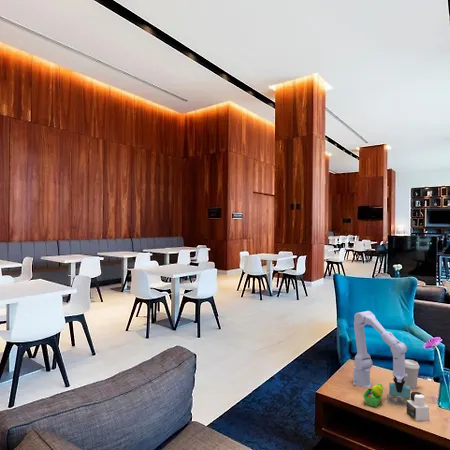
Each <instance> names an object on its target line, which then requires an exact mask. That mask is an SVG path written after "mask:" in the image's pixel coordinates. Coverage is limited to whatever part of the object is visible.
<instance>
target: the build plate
mask: <svg viewBox="0 0 450 450" xmlns="http://www.w3.org/2000/svg"><path fill="white" fill-rule="evenodd" d="M410 400H411V398H410ZM386 403H387V404H391V405H395V406H402V407H405V408H407V404H404V403H401V397H399V396H397V402H394V401H389V393H388V394H387V395H386Z"/></svg>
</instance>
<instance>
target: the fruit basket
mask: <svg viewBox="0 0 450 450" xmlns="http://www.w3.org/2000/svg"><path fill="white" fill-rule="evenodd" d="M383 391H384V386H383V385H382V383H377V384H376V385H373V386H372V387H370V388H368V387H367V390H366V391H365V392H364V394H363V399H364V403H365V405H367V406H371V407H373V408H377V407H378V406H379V404H380V402H381V399H382V397H383V394H384V392H383Z"/></svg>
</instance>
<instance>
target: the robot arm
mask: <svg viewBox="0 0 450 450" xmlns="http://www.w3.org/2000/svg"><path fill="white" fill-rule="evenodd" d="M353 316H354V321H353V328H354V335H355V336H354V337H355V344H356V352H357V353H356V354H355V356H354V363H353V364H354V367H353V372H352V376H353V378H352V380H353V381H352V383H353V386H359V387H364V388H367V389H368V388H370V389H371V385H372V382H371V370H372V369H371V368H372V367H373V360H372V359H371V355H370V354H369V353H368V351H367V349H368V348H367V342H366V334H365V326H366V325H369V326H371V327H372V328H374V329H375V330H376V331H377V333H379V334H380V335H381V339H382V340H383V341H384V342H385V343H386V344H387V346H388V347H390V352H391V353H392V354H391V355H392V376H393V379H392V380H393V383H395V385H396V390H397V392H399V393H401V392H402V388H403V385H404V383H405V380H404V378H405V376H406V377H407V374H405V360H406V354H405V353H407V351H408V347H407V345H406V343H404V342H403V341H400V340H399V339H397V338H396V336H394V334H393V332H391V331H387V330H386V329H385V328H384V326H382V324H381V322H380V321H378V319H377V318H376V315H375V314H374V313H373V312H372V311H370V310H366V311H361V312H356V313H355V314H354V315H353Z"/></svg>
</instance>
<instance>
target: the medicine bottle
mask: <svg viewBox="0 0 450 450" xmlns="http://www.w3.org/2000/svg"><path fill="white" fill-rule="evenodd" d="M425 398H426V397H425V395H424V394H423V393H421V392H419V391H410V399H411V400H407V407H406V414H407V416H409V417H410V418H411V419H413V421H415V422H423V421H424V422H427V421H430V407H429V405H427V404H426V402H425Z"/></svg>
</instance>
